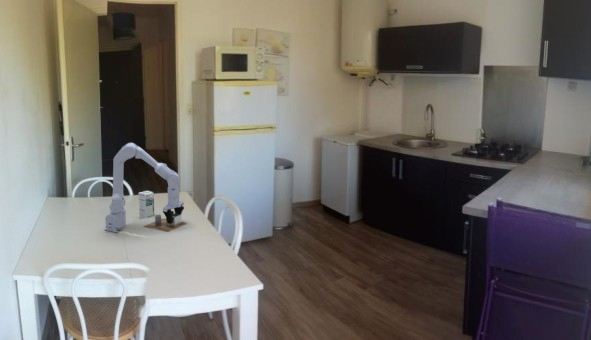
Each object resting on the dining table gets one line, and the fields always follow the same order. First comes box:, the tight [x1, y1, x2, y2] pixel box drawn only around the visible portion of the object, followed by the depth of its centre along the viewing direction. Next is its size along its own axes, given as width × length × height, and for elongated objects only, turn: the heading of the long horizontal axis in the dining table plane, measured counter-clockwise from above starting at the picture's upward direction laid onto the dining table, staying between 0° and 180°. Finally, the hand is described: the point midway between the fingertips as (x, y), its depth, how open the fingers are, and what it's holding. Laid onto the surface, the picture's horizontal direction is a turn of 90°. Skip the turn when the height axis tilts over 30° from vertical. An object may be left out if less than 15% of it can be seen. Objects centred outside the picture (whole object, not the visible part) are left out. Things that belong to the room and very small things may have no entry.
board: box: [142, 218, 188, 233], centre depth 248 cm, size 16×16×2 cm
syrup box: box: [138, 190, 155, 220], centre depth 262 cm, size 6×6×14 cm
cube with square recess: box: [165, 212, 182, 227], centre depth 249 cm, size 6×6×5 cm
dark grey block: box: [154, 214, 162, 226], centre depth 247 cm, size 3×3×5 cm
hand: (173, 221), depth 249 cm, fingers open, 6 cm apart
